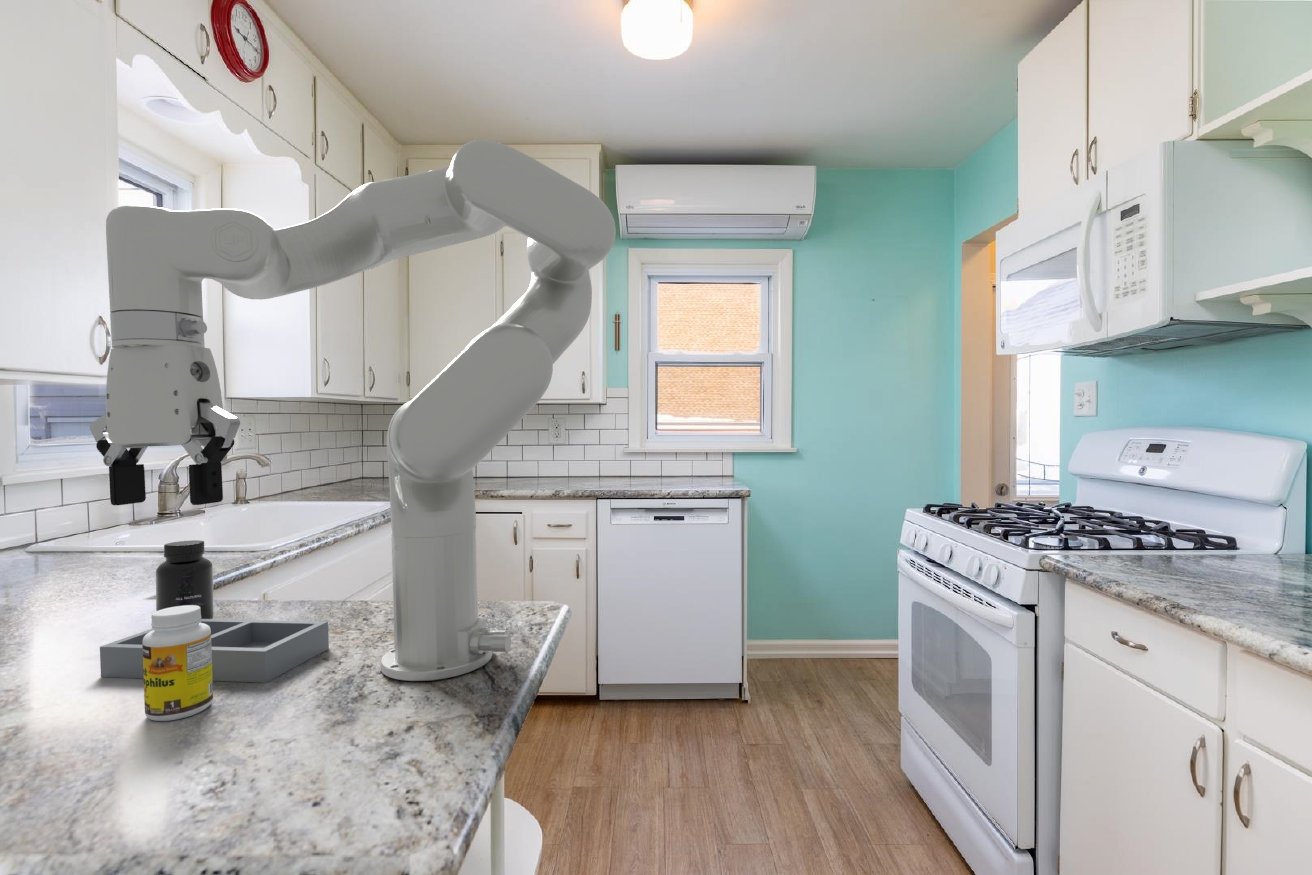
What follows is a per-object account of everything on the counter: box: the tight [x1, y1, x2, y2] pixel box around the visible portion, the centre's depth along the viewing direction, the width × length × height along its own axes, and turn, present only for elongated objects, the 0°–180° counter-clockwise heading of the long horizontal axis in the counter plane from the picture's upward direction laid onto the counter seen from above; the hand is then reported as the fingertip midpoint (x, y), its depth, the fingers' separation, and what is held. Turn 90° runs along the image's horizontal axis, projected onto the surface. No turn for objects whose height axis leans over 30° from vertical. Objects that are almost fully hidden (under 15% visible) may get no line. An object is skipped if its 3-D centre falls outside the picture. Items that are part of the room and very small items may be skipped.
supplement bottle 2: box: [142, 605, 214, 722], centre depth 66 cm, size 6×6×10 cm
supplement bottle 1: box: [155, 539, 214, 619], centre depth 96 cm, size 7×7×12 cm
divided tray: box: [99, 618, 330, 684], centre depth 79 cm, size 21×11×4 cm, turn 82°
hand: (167, 503), depth 67 cm, fingers open, 9 cm apart
